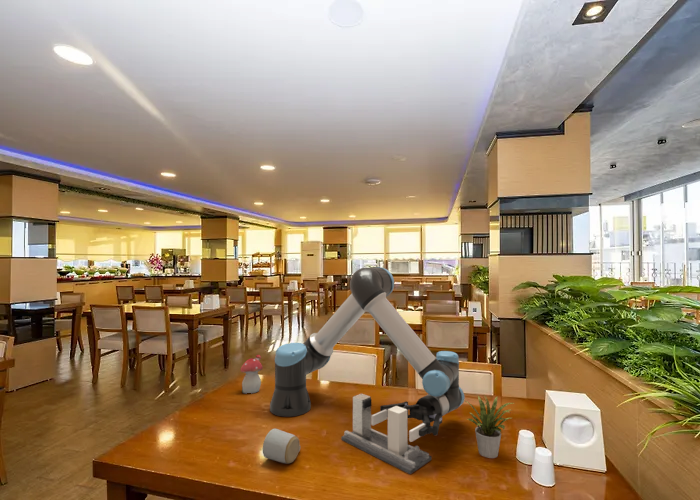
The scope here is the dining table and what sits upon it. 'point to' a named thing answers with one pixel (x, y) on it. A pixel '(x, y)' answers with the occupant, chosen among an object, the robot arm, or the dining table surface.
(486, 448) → the house plant
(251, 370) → the decorative ornament
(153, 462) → the dining table surface
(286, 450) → the grey cylinder on side
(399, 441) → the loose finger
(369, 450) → the rail
